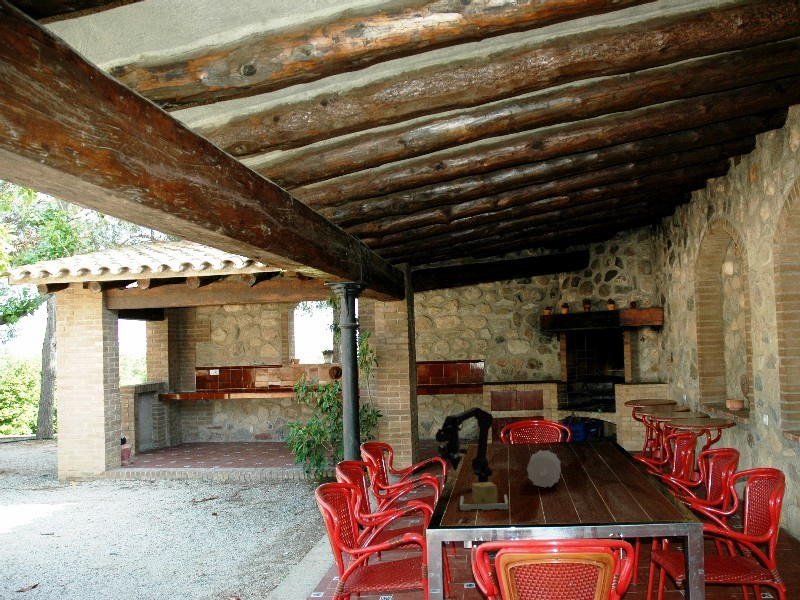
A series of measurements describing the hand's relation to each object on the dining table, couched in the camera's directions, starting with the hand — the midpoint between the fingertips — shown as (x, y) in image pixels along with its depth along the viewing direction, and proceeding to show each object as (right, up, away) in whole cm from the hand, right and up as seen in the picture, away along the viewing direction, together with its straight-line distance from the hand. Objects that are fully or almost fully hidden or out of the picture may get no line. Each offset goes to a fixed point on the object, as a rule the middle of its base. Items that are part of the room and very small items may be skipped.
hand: (455, 470), depth 367 cm
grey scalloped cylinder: (+49, -10, +10) cm, 51 cm away
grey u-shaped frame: (+11, -10, -29) cm, 33 cm away
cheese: (+12, -10, -29) cm, 33 cm away
